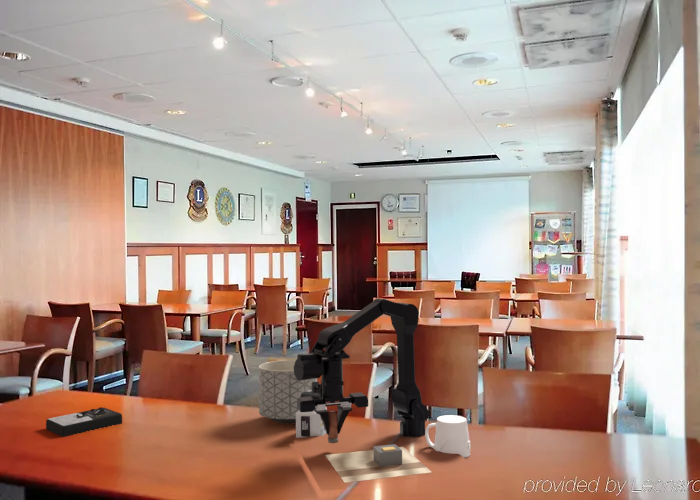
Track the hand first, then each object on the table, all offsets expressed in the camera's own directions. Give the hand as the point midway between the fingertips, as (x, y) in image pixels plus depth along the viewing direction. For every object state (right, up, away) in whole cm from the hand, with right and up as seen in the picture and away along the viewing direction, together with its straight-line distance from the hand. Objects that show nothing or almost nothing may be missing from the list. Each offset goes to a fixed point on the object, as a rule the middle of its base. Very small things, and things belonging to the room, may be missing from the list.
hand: (333, 433), depth 161 cm
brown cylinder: (0, -2, 0) cm, 2 cm away
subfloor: (+11, -6, -10) cm, 16 cm away
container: (-7, -6, +18) cm, 21 cm away
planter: (-16, -7, +35) cm, 39 cm away
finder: (+14, -4, -9) cm, 17 cm away
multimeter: (-81, -8, +31) cm, 87 cm away
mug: (+31, -6, +1) cm, 32 cm away
